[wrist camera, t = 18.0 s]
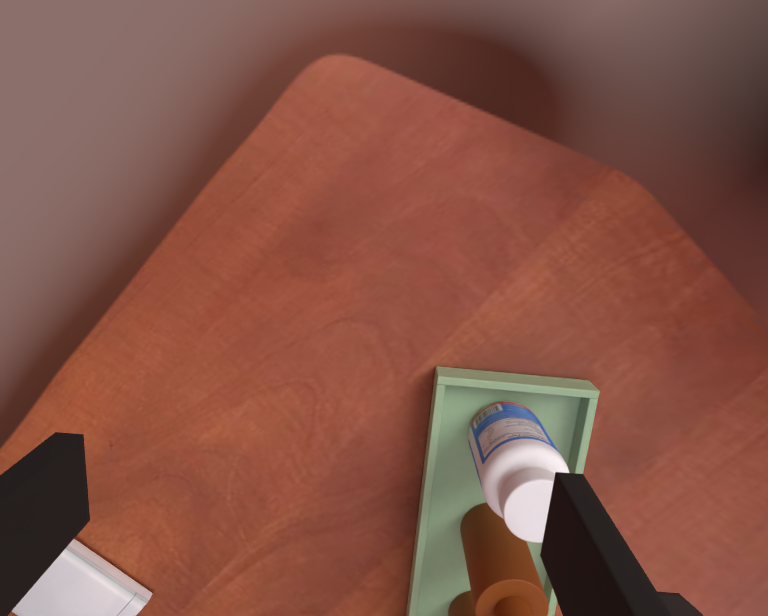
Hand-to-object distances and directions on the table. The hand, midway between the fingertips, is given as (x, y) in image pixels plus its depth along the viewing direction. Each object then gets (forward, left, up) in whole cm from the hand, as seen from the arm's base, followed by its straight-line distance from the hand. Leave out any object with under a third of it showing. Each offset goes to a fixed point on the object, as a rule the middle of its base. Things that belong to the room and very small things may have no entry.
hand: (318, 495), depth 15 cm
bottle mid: (+17, +11, -23) cm, 30 cm away
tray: (+17, +11, -23) cm, 30 cm away
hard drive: (+26, -23, -23) cm, 42 cm away
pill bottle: (+9, +11, -23) cm, 27 cm away
